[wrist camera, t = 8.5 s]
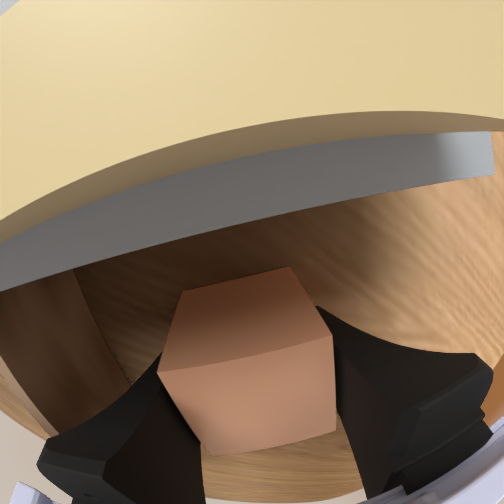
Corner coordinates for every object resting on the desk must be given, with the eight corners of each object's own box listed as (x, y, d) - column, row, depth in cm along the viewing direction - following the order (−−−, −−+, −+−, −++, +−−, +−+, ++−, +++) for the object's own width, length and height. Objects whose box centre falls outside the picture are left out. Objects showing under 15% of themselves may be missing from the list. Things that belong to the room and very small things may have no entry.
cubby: (367, 388, 14) (409, 460, 8) (152, 431, 14) (138, 507, 8) (352, 139, 10) (459, 124, 4) (44, 222, 9) (-50, 265, 4)
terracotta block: (303, 351, 12) (336, 430, 8) (213, 371, 12) (211, 456, 8) (289, 266, 11) (332, 334, 6) (181, 291, 11) (156, 372, 6)
